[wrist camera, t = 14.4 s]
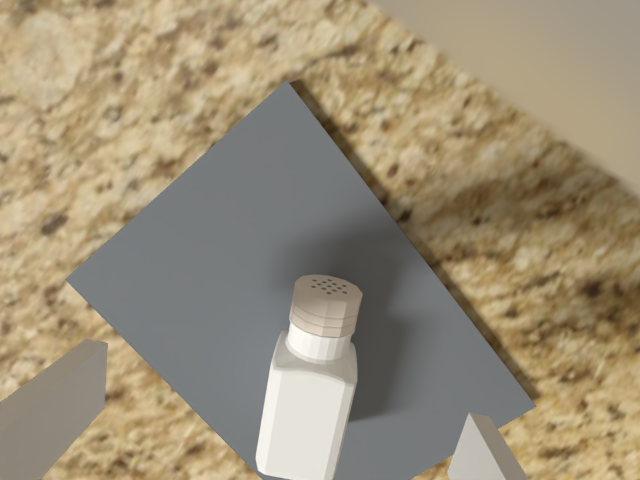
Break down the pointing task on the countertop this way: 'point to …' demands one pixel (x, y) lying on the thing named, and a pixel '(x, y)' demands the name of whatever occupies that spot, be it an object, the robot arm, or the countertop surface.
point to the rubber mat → (277, 292)
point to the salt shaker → (311, 382)
